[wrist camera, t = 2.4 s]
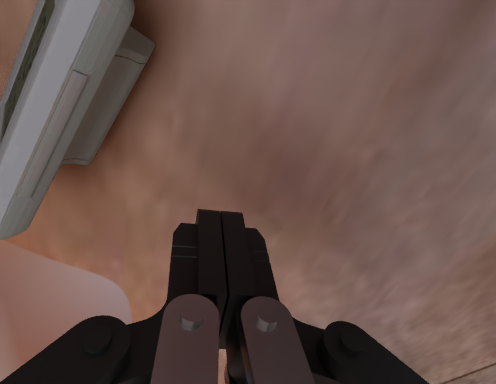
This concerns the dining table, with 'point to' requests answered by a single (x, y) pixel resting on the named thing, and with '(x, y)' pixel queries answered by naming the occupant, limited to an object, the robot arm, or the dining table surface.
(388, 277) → the dining table surface
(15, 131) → the digital clock
